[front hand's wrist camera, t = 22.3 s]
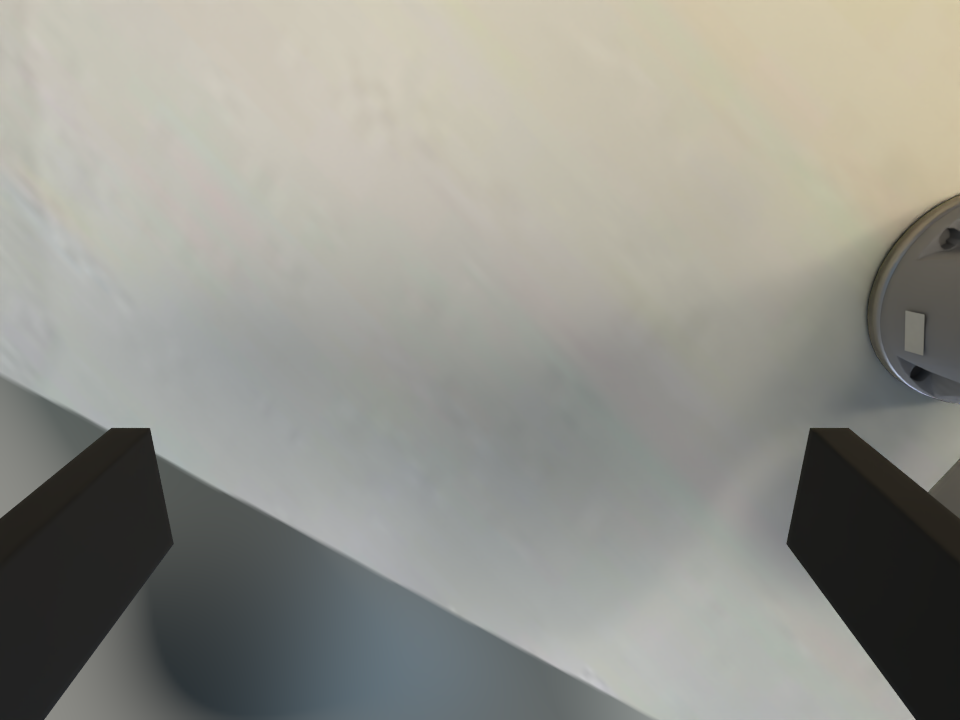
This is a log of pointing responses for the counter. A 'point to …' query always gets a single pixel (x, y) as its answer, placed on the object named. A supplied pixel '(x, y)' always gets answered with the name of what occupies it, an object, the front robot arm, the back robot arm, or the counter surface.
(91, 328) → the counter surface
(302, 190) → the counter surface
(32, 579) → the front robot arm
